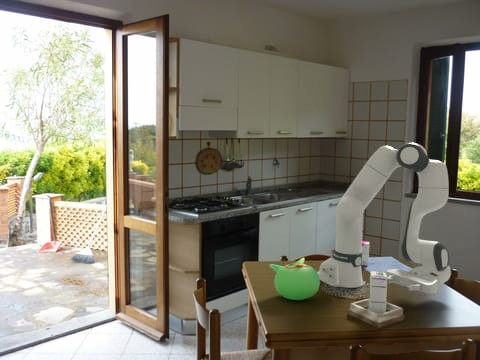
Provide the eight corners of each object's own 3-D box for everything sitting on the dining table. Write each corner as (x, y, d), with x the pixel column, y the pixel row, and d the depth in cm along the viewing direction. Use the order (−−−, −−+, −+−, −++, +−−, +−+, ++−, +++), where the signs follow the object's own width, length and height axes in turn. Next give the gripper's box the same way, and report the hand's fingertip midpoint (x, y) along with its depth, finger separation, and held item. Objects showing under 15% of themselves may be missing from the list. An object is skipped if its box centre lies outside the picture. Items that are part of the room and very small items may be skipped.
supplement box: (368, 263, 232) (369, 241, 231) (367, 266, 227) (369, 244, 225) (356, 262, 234) (358, 240, 233) (355, 265, 228) (357, 242, 227)
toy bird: (285, 308, 171) (286, 270, 170) (265, 292, 187) (267, 257, 185) (326, 303, 178) (328, 266, 176) (304, 288, 193) (306, 254, 192)
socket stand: (347, 313, 168) (348, 303, 167) (372, 306, 176) (373, 296, 175) (378, 328, 156) (379, 317, 156) (404, 319, 164) (405, 308, 164)
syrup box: (385, 316, 163) (388, 277, 161) (368, 314, 164) (371, 275, 162) (384, 310, 168) (386, 272, 166) (367, 308, 169) (369, 270, 168)
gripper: (398, 263, 188) (375, 268, 180) (444, 277, 171) (422, 284, 163) (396, 278, 188) (374, 284, 181) (443, 294, 172) (421, 301, 164)
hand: (398, 284), depth 172 cm, fingers open, 8 cm apart
